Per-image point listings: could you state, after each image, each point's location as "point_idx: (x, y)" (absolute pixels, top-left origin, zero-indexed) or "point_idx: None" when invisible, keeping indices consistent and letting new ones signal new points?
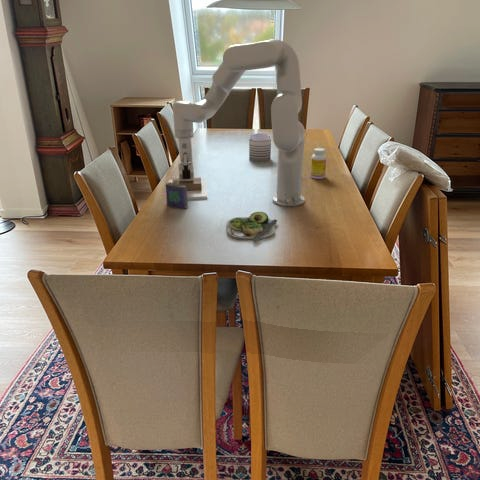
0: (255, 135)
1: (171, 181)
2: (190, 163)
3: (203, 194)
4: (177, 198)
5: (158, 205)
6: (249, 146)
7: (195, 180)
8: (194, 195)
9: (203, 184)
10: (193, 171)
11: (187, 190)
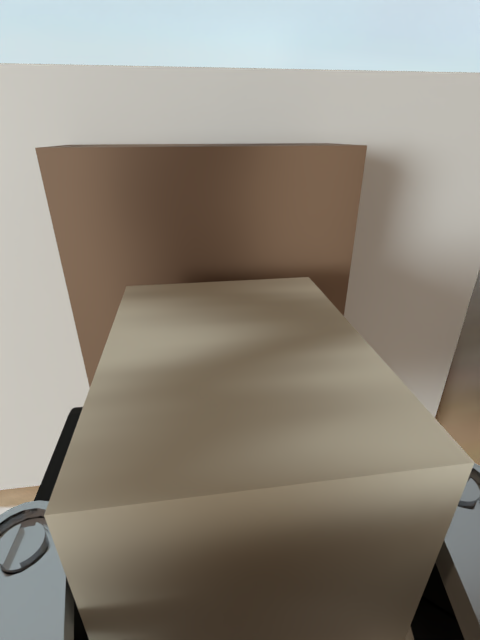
0: None
1: (9, 469)
2: (218, 559)
3: (466, 123)
4: None
5: (476, 457)
6: None
7: (206, 243)
8: (458, 231)
9: (84, 107)
10: (366, 345)
11: None
